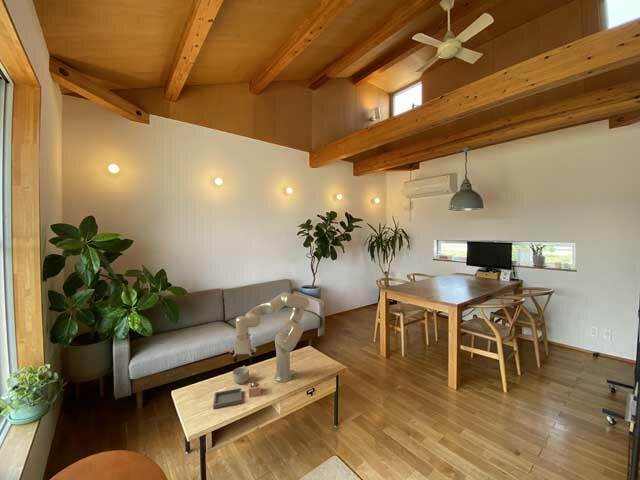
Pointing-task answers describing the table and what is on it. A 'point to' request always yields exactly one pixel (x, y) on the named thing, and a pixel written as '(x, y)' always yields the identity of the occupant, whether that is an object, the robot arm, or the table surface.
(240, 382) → the teacup
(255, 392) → the pink block with knob
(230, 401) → the tray
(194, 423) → the table surface
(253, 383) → the post
